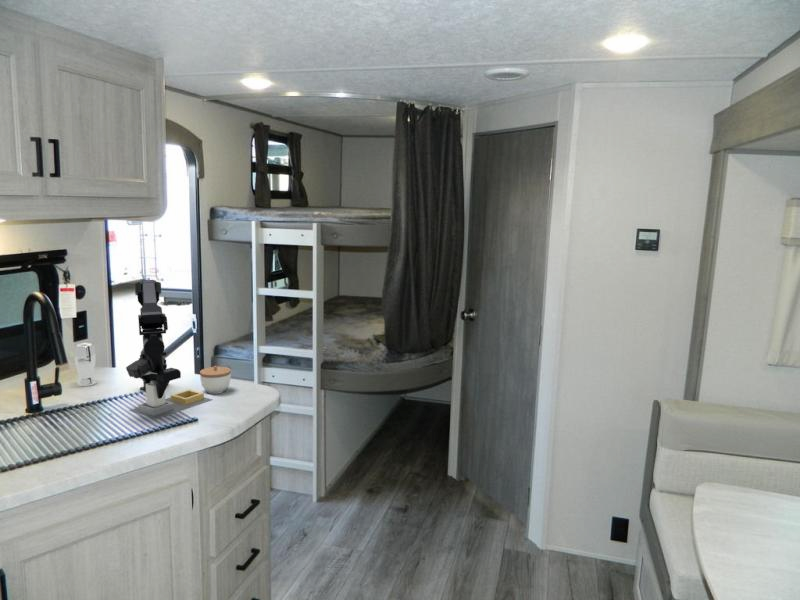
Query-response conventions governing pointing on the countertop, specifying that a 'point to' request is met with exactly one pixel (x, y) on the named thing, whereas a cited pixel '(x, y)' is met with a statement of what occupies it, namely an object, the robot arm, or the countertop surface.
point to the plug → (153, 395)
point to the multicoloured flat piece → (173, 404)
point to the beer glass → (85, 363)
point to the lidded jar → (215, 379)
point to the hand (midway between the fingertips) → (155, 396)
